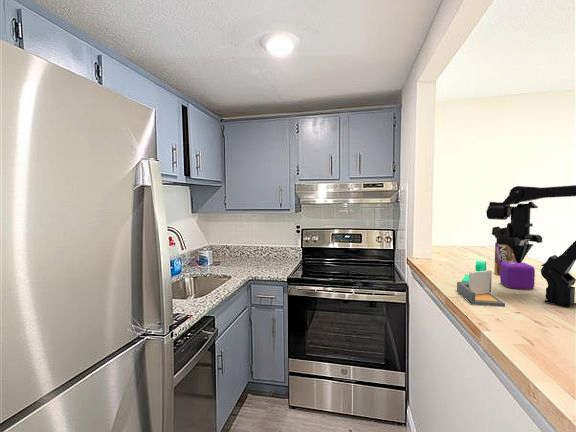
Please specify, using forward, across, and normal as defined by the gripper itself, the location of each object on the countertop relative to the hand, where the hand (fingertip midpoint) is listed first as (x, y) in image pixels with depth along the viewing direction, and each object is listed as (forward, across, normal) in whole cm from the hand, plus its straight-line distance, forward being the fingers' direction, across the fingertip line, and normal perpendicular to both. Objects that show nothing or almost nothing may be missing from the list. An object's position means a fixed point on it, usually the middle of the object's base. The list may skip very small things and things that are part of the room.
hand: (518, 262), depth 114 cm
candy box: (+12, -27, -19) cm, 35 cm away
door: (+10, +15, -4) cm, 19 cm away
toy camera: (+12, -13, -8) cm, 20 cm away
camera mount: (+12, 0, -16) cm, 21 cm away
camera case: (+12, +16, -5) cm, 21 cm away
